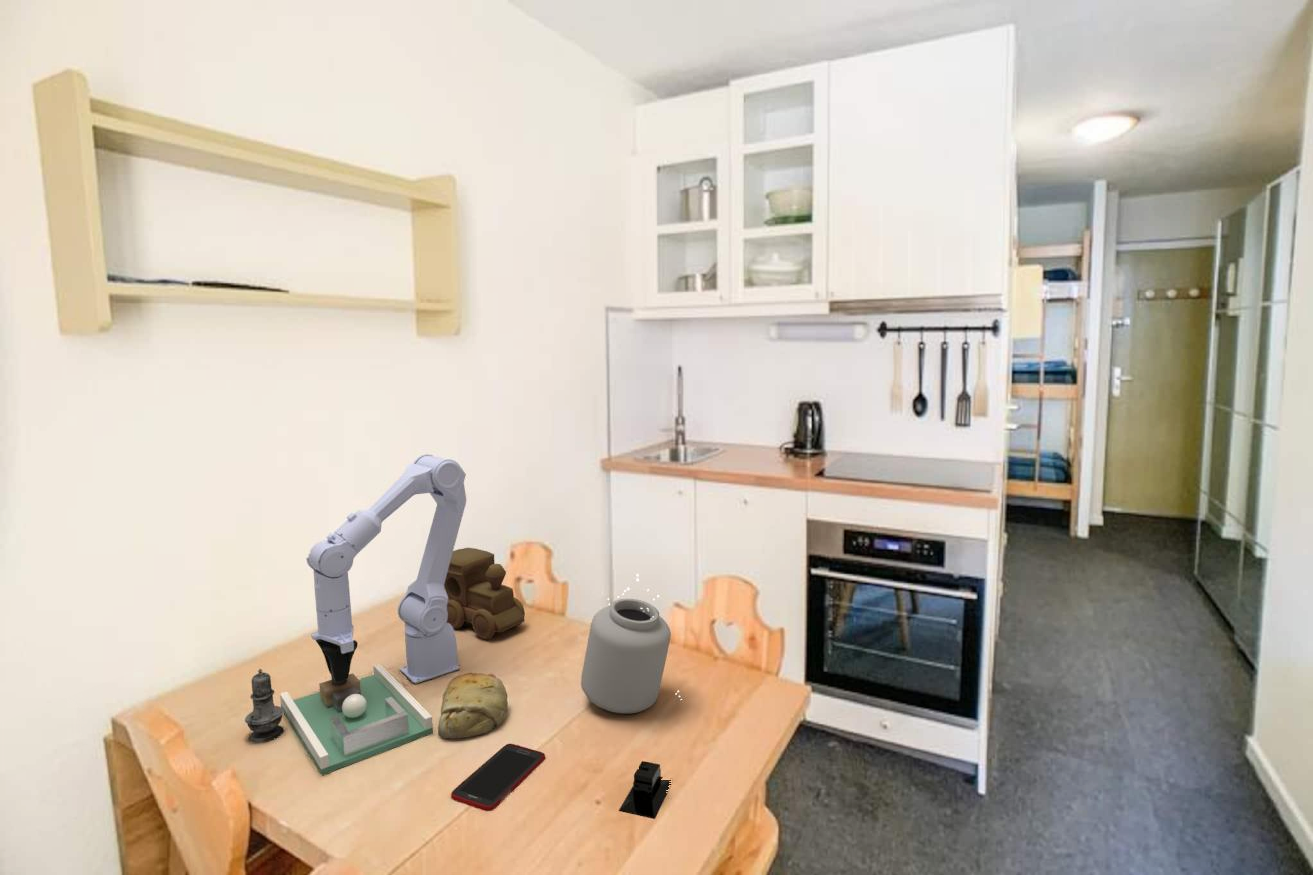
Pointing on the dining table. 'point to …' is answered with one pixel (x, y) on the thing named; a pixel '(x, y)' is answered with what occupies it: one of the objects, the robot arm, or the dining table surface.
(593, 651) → the jar
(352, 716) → the ball
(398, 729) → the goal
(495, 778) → the cell phone
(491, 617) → the wooden toy train
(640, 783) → the black stepped block
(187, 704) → the dining table surface
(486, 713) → the pastry
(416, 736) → the pitch
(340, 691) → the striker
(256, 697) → the salt shaker
